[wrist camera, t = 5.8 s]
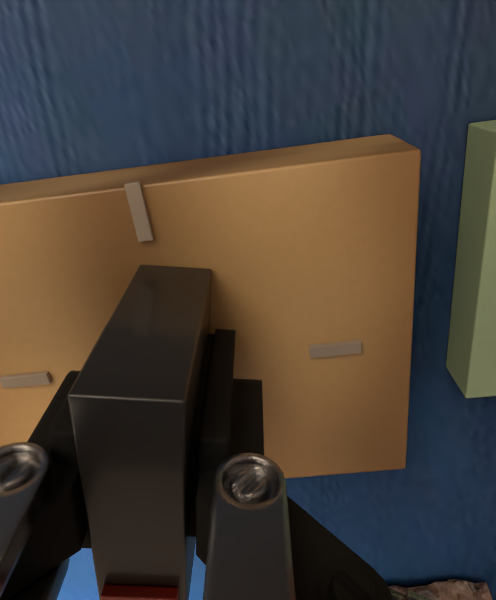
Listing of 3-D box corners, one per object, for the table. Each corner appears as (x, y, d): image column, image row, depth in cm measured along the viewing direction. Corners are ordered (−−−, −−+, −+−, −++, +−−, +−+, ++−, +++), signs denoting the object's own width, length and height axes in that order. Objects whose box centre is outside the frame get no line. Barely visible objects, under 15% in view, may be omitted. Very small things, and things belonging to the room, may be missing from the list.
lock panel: (391, 129, 12) (424, 145, 10) (386, 417, 17) (407, 475, 14) (-67, 189, 13) (-139, 217, 11) (49, 447, 18) (18, 506, 15)
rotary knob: (139, 263, 11) (59, 405, 7) (211, 267, 11) (183, 412, 7) (149, 441, 14) (98, 629, 9) (207, 444, 14) (184, 633, 9)
